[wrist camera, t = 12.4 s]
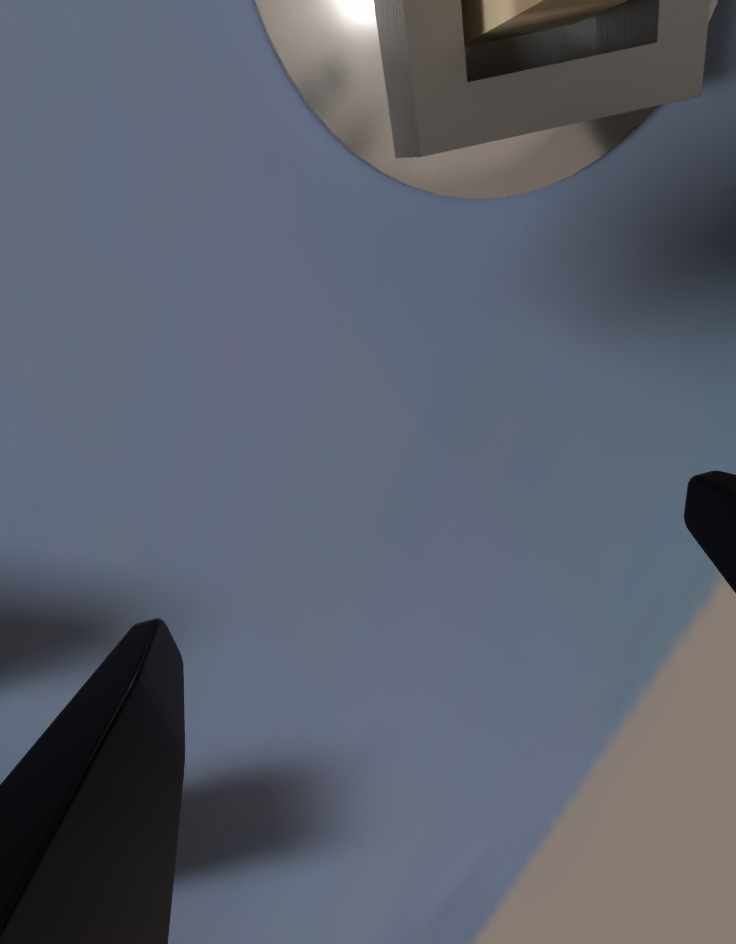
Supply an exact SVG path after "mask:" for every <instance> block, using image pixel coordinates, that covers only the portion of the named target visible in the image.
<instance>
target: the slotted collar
mask: <svg viewBox="0 0 736 944" xmlns="http://www.w3.org/2000/svg"><path fill="white" fill-rule="evenodd" d="M252 1H253V4H254V6H255V9H256V11H257V14H258V16H259V19H260V22H261V24H262V27H263V29H264V32H265V34H266V37H267V39H268V42H269V44H270V46H271V47H272V49H273V51H274V53H275V55H276V57H277V59H278V61H279V63H280V65H281V67H282V69H283V71H284V73H285V75H286V76H287V78H288V79H289V81H290V82H291V84H292V85H293V87H294V88H295V90H296V91H297V93H298V94H299V96H300V97H301V99H302V100H303V102H304V103H305V105H306V106H307V108H308V109H309V110H310V111H311V112H312V113H313V115H314V116H315V117H316V118H317V119H318V120H319V122H320V123H321V124H322V125H323V126H324V127H325V129H326V130H327V131H328V132H329V133H330V134H331V135H332V136H333V137H334V138H335V139H336V140H337V141H339V142H340V143H341V144H342V145H343V146H344V147H345V148H346V149H347V150H348V151H350V152H351V153H352V154H353V155H354V156H356V157H357V158H359V159H360V160H361V161H363V162H364V163H366V164H367V165H369V166H370V167H372V168H373V169H375V170H376V171H378V172H379V173H381V174H383V175H385V176H387V177H389V178H391V179H393V180H395V181H397V182H399V183H401V184H403V185H406V186H409V187H412V188H416V189H419V190H422V191H425V192H428V193H432V194H438V195H444V196H451V197H457V198H463V199H495V198H502V197H508V196H515V195H521V194H524V193H528V192H531V191H534V190H537V189H541V188H544V187H547V186H549V185H552V184H554V183H556V182H558V181H560V180H563V179H565V178H567V177H569V176H571V175H573V174H575V173H577V172H578V171H580V170H581V169H583V168H585V167H586V166H588V165H589V164H591V163H593V162H594V161H596V160H597V159H599V158H600V157H602V156H603V155H604V154H605V153H607V152H608V151H609V150H610V149H612V148H613V147H614V146H615V145H617V144H618V143H619V142H620V141H622V140H623V139H624V138H625V137H626V136H627V135H628V134H629V133H630V132H631V131H632V130H633V129H634V128H635V127H636V126H637V125H638V124H639V123H640V122H641V121H642V120H643V119H644V118H645V117H646V116H647V115H648V114H649V113H650V111H651V110H652V109H653V108H654V106H657V105H662V104H667V103H671V102H676V101H680V100H685V99H690V98H694V97H699V96H701V94H702V84H703V73H704V63H705V53H706V43H707V32H708V23H709V21H710V19H711V16H712V14H713V12H714V9H715V7H716V5H717V2H718V0H628V1H626V2H624V3H622V4H619V5H617V6H615V7H612V8H610V9H608V10H605V11H603V12H601V13H599V14H596V15H594V16H592V17H589V18H587V19H585V20H582V21H580V22H578V23H576V24H573V25H570V26H565V27H561V28H556V29H551V30H546V31H541V32H536V33H531V34H526V35H521V36H516V37H512V38H507V39H502V40H497V41H492V42H487V43H482V44H477V45H472V46H467V47H465V46H464V34H463V21H462V8H461V0H252Z"/></svg>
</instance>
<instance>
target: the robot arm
mask: <svg viewBox="0 0 736 944" xmlns="http://www.w3.org/2000/svg"><path fill="white" fill-rule="evenodd" d="M684 520H685V524H686V526H687V528H688V530H689V531H690V533H691V534H692V536H693V537H694V538H695V540H696V541H697V542H698V544H699V545H700V546H701V548H702V549H703V550H704V552H705V553H706V554H707V556H708V557H709V558H710V560H711V561H712V562H713V564H714V565H715V566H716V568H717V569H718V570H719V572H720V573H721V574H722V576H723V577H724V578H725V580H726V581H727V582H728V584H729V585H730V586H731V588H732V589H733V590H734V592H735V593H736V475H734V474H729V473H725V472H721V471H710V472H707V473H703V474H699V475H695V476H694V477H692V478H691V479H690V481H689V482H688V488H687V496H686V503H685V511H684ZM184 763H185V722H184V674H183V661H182V657H181V654H180V651H179V649H178V647H177V645H176V643H175V641H174V639H173V637H172V635H171V633H170V631H169V629H168V627H167V625H166V624H165V622H164V621H163V620H162V619H159V618H156V619H152V620H148V621H145V622H141V623H138V624H135V625H134V626H133V627H132V628H131V629H130V630H129V631H128V632H127V634H126V635H125V636H124V637H123V638H122V640H121V641H120V642H119V643H118V644H117V646H116V647H115V648H114V649H113V650H112V652H111V653H110V654H109V655H108V656H107V658H106V659H105V660H104V661H103V662H102V664H101V665H100V666H99V667H98V668H97V670H96V671H95V672H94V673H93V674H92V676H91V677H90V678H89V679H88V680H87V682H86V683H85V684H84V685H83V686H82V688H81V689H80V690H79V691H78V692H77V694H76V695H75V696H74V697H73V698H72V700H71V701H70V702H69V703H68V704H67V706H66V707H65V708H64V709H63V710H62V712H61V713H60V714H59V715H58V716H57V718H56V719H55V720H54V721H53V722H52V723H51V725H50V726H49V727H48V728H47V729H46V731H45V732H44V733H43V734H42V735H41V737H40V738H39V739H38V740H37V741H36V743H35V744H34V745H33V746H32V747H31V749H30V750H29V751H28V752H27V753H26V755H25V756H24V757H23V758H22V759H21V761H20V762H19V763H18V764H17V765H16V767H15V768H14V769H13V770H12V771H11V773H10V774H9V775H8V776H7V777H6V779H5V780H4V781H3V782H2V783H1V785H0V944H168V935H169V924H170V914H171V903H172V893H173V882H174V872H175V861H176V851H177V840H178V830H179V819H180V809H181V798H182V788H183V777H184Z"/></svg>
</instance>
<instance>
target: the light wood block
mask: <svg viewBox="0 0 736 944" xmlns="http://www.w3.org/2000/svg"><path fill="white" fill-rule="evenodd" d="M626 1H628V0H461V8H462V21H463V34H464V46H465V47H467V46H472V45H477V44H482V43H487V42H492V41H497V40H502V39H507V38H512V37H516V36H521V35H526V34H531V33H536V32H541V31H546V30H551V29H556V28H561V27H565V26H570V25H573V24H576V23H578V22H580V21H582V20H585V19H587V18H589V17H592V16H594V15H596V14H599V13H601V12H603V11H605V10H608V9H610V8H612V7H615V6H617V5H619V4H622V3H624V2H626Z"/></svg>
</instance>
